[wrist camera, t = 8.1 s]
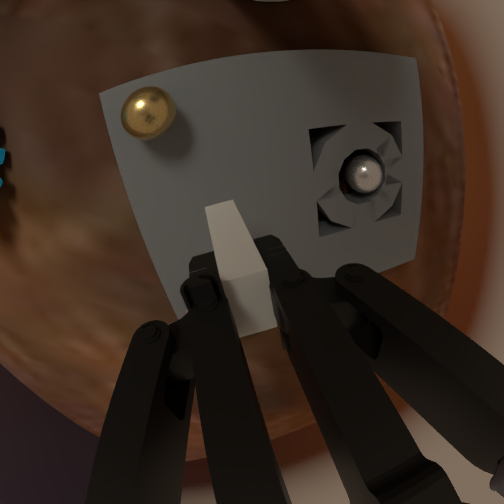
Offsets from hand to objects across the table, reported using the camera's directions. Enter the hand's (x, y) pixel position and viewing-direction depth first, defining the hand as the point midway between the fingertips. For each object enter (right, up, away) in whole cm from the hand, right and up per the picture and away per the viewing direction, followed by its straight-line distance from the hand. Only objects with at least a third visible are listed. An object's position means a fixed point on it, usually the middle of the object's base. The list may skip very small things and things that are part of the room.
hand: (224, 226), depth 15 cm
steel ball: (+11, +5, +6) cm, 13 cm away
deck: (+4, +4, +7) cm, 9 cm away
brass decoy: (-4, +6, -1) cm, 8 cm away
